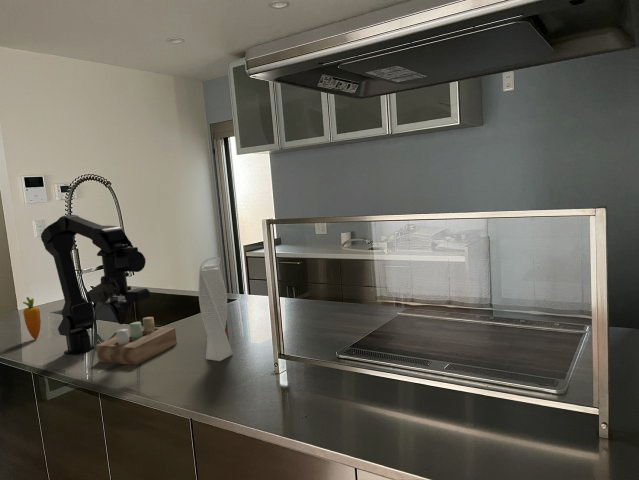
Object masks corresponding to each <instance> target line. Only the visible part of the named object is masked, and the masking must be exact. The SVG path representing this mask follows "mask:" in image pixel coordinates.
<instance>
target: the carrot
mask: <svg viewBox="0 0 639 480" xmlns="http://www.w3.org/2000/svg"><path fill="white" fill-rule="evenodd" d="M26 300H27V302H26V301H22V304H25V305H26V306H28V307H27V308H24V310H22V311H23V312H22V313H23V319H24V323H25V326H26V330H27V331H28V333H29V335H30V336H31V337H32V339H34V340H37V339H38V338H39V335H40V332H41V323H42V322H41V310H40V308H39V307H37V306H34V303H35V302H34V300H35V299H34V298H32V297H31V299H30V297H28V296H27V297H26Z"/></svg>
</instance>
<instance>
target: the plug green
mask: <svg viewBox="0 0 639 480" xmlns="http://www.w3.org/2000/svg"><path fill="white" fill-rule="evenodd" d="M142 327H143V325H142V322H141V321H135V322H132V323H129V328H130V330H131V337H132V339H139V338H141V337H143V333H142ZM130 330H129V331H130Z"/></svg>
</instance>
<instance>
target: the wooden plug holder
mask: <svg viewBox="0 0 639 480" xmlns="http://www.w3.org/2000/svg"><path fill="white" fill-rule="evenodd" d="M128 332H129V340H130V343H128V344H126V345H118V340H117V335H116V336H114V337H112V338H109V339H108V340H104V341H103V342H101V343H98V344H96V345H95V346H96V353H97V360H98V361H97V362H99V363H106V364H107V363H109V364H120V365H122V364H123V365H132V366H133V365H134V366H137V365H140V364H141V363H143V362H145V361H147V360H148V359H151V358H153V357H154V356H156V355H158V354H160V353H162V352H164V351H166V350H168V349H169V348H171V347H173V346H175V345H177V344H178V341H177V333H176V328H175V327H159V326H155V331H154V332H152V333H144V326H142V333H143V337H141V338H139V339H132V337H131V330H128Z"/></svg>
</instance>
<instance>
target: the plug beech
mask: <svg viewBox="0 0 639 480" xmlns="http://www.w3.org/2000/svg"><path fill="white" fill-rule="evenodd" d="M142 327H144V333H152V332H154V331H155V327H156V326H155V320H154V317H153V316H147V317H143V318H142Z"/></svg>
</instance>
